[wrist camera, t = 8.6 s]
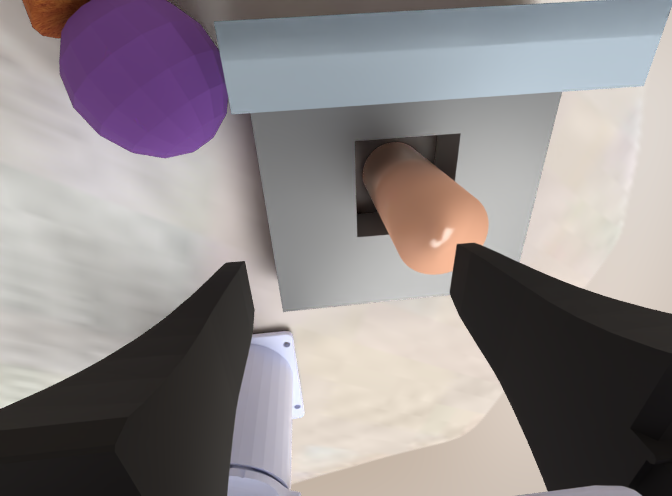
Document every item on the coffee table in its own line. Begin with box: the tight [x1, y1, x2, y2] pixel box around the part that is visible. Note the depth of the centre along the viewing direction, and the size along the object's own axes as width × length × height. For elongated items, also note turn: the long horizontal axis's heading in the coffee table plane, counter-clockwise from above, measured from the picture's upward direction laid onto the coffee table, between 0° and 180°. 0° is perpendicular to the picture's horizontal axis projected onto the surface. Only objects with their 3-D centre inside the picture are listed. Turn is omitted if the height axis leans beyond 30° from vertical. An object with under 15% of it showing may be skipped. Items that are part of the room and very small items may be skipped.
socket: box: [214, 0, 672, 312], centre depth 17 cm, size 14×14×7 cm
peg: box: [363, 142, 489, 275], centre depth 16 cm, size 4×4×8 cm
